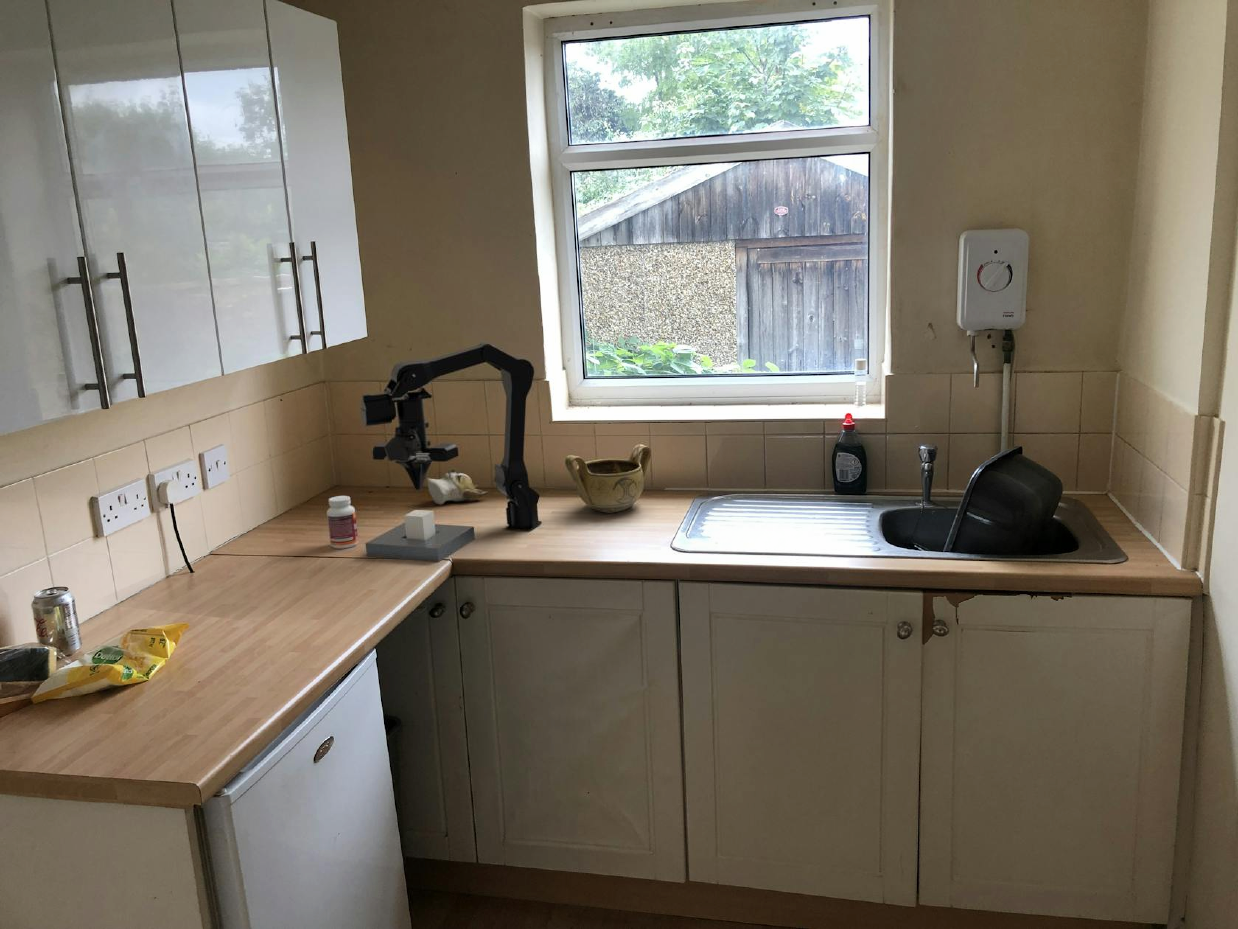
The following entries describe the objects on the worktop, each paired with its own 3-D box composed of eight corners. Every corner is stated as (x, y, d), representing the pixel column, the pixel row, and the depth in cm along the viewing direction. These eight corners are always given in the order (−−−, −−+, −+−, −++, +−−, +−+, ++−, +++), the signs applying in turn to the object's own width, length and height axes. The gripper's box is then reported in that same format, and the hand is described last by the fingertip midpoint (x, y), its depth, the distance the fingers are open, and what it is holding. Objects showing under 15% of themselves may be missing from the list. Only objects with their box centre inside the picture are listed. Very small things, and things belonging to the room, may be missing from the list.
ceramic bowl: (587, 525, 231) (583, 462, 228) (554, 509, 246) (550, 450, 242) (667, 508, 242) (665, 448, 239) (632, 494, 257) (629, 437, 253)
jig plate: (475, 539, 225) (473, 526, 225) (438, 562, 211) (437, 548, 210) (406, 534, 232) (405, 522, 231) (366, 556, 217) (365, 543, 216)
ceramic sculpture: (420, 468, 259) (475, 463, 265) (422, 500, 260) (476, 494, 267) (433, 476, 249) (489, 470, 256) (434, 510, 251) (490, 503, 258)
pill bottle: (362, 545, 225) (357, 498, 223) (335, 551, 222) (330, 503, 219) (353, 539, 230) (348, 493, 228) (327, 544, 227) (321, 498, 224)
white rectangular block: (436, 545, 223) (433, 510, 221) (425, 551, 218) (422, 516, 217) (418, 544, 224) (415, 509, 222) (407, 550, 220) (404, 515, 218)
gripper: (353, 427, 212) (362, 497, 216) (430, 428, 206) (437, 501, 210) (382, 417, 222) (390, 484, 226) (456, 418, 216) (462, 487, 220)
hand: (418, 489), depth 220 cm, fingers closed
